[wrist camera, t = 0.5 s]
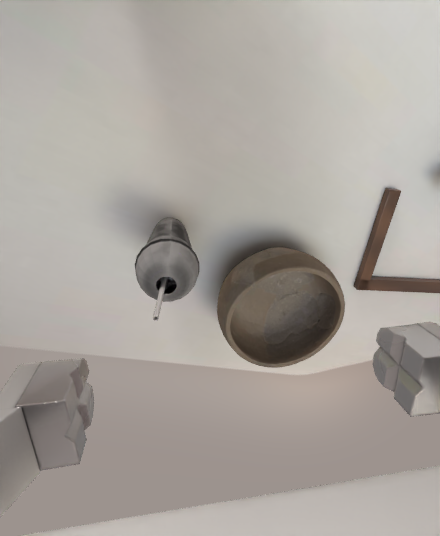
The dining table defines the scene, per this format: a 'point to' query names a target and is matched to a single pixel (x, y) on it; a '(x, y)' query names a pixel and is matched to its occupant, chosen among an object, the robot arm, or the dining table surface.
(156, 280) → the beverage cup
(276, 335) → the bowl
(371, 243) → the frame
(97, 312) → the dining table surface
